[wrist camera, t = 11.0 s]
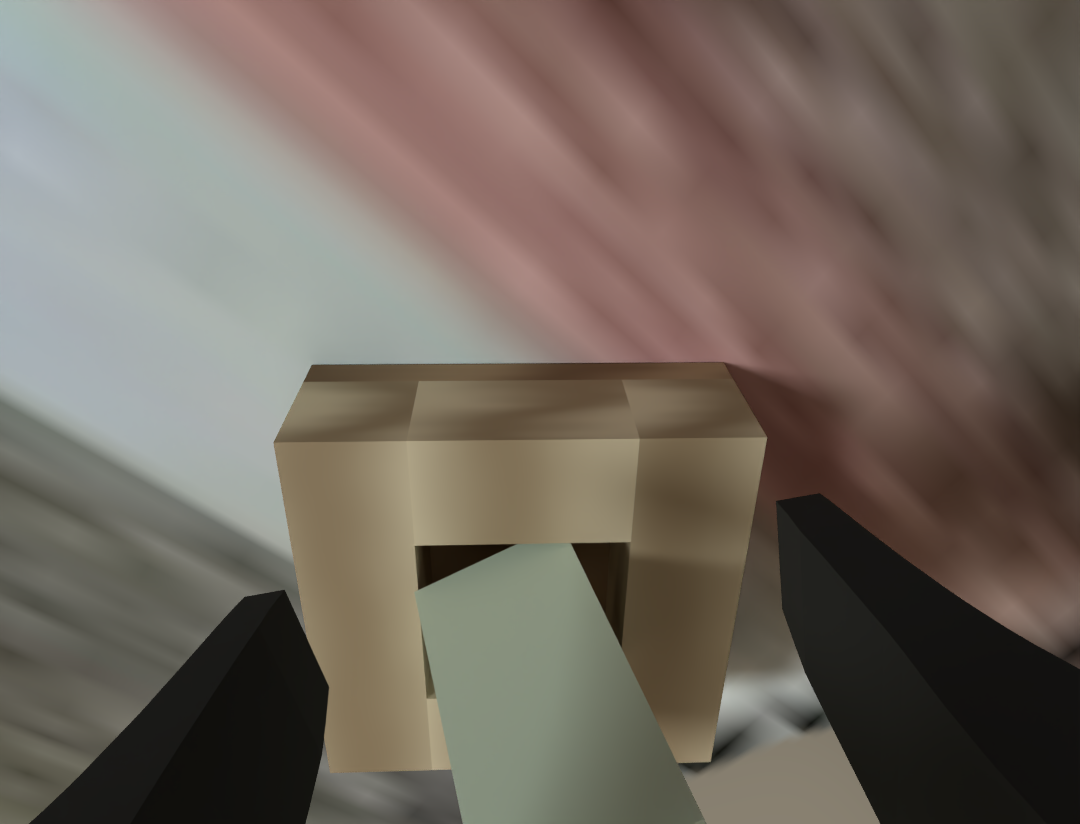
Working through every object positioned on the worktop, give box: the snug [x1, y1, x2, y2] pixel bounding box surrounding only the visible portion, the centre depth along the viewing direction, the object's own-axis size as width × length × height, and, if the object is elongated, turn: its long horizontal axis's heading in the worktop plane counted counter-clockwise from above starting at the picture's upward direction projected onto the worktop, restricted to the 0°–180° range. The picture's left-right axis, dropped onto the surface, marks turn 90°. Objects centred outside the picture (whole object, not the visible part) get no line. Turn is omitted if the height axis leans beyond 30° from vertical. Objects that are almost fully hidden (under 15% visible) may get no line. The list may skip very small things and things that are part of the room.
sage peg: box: [414, 543, 706, 824], centre depth 17 cm, size 4×4×8 cm
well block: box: [274, 363, 767, 773], centre depth 22 cm, size 11×11×4 cm
